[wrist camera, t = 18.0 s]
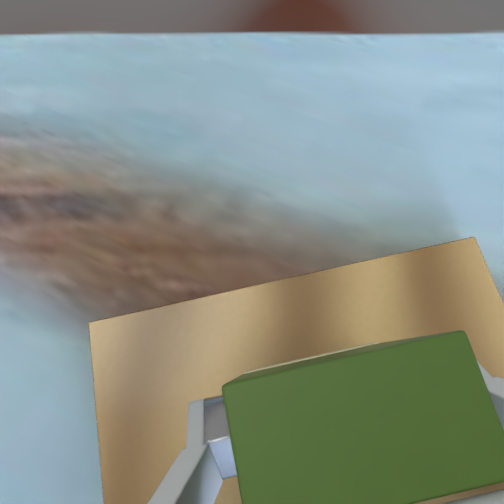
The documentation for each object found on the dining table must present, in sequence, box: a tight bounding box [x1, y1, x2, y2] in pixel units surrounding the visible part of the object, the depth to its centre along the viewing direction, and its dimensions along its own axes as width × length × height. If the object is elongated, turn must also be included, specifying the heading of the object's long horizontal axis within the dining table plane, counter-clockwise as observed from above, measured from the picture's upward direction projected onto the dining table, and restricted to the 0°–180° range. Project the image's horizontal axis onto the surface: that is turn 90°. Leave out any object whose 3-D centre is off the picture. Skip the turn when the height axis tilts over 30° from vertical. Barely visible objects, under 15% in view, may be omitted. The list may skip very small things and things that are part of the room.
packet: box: [221, 330, 504, 504], centre depth 12 cm, size 6×3×10 cm, turn 102°
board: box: [89, 237, 504, 504], centre depth 17 cm, size 20×11×1 cm, turn 102°
